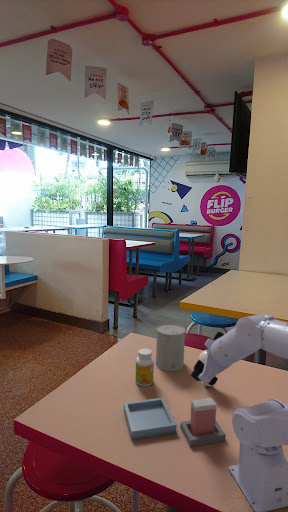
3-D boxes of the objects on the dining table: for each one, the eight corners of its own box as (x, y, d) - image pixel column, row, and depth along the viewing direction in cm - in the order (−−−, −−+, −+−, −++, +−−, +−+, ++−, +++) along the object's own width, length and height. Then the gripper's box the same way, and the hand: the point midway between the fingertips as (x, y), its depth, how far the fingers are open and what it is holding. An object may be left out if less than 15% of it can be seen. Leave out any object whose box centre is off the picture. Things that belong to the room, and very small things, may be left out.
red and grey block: (214, 436, 69) (216, 404, 68) (194, 439, 68) (195, 407, 66) (209, 428, 71) (211, 397, 70) (190, 432, 70) (191, 400, 69)
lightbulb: (219, 393, 85) (221, 357, 84) (196, 390, 86) (198, 354, 85) (218, 381, 91) (220, 347, 90) (197, 378, 93) (199, 345, 91)
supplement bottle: (132, 383, 89) (132, 352, 88) (140, 375, 94) (141, 345, 93) (148, 388, 87) (149, 357, 86) (156, 379, 92) (157, 349, 90)
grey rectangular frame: (225, 440, 67) (225, 434, 67) (189, 446, 65) (190, 440, 65) (213, 422, 73) (213, 417, 73) (180, 427, 71) (180, 422, 71)
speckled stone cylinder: (152, 368, 99) (153, 332, 97) (159, 355, 108) (160, 322, 106) (181, 373, 96) (182, 336, 94) (185, 359, 105) (187, 326, 103)
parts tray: (176, 432, 70) (176, 424, 69) (131, 439, 67) (131, 431, 67) (163, 404, 80) (163, 397, 80) (123, 409, 77) (123, 402, 77)
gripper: (232, 312, 67) (204, 333, 78) (200, 358, 59) (173, 375, 69) (257, 334, 66) (225, 353, 77) (228, 384, 57) (197, 398, 68)
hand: (202, 365), depth 73 cm, fingers open, 7 cm apart
